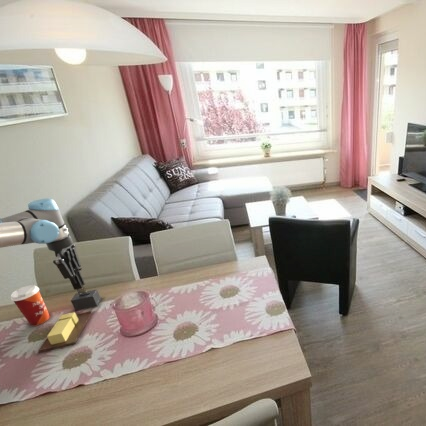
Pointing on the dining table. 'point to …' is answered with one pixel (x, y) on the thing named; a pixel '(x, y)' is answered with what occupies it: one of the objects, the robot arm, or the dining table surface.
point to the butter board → (73, 335)
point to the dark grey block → (86, 300)
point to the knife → (81, 291)
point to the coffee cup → (31, 304)
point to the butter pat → (68, 316)
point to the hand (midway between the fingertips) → (79, 286)
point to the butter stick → (61, 331)
